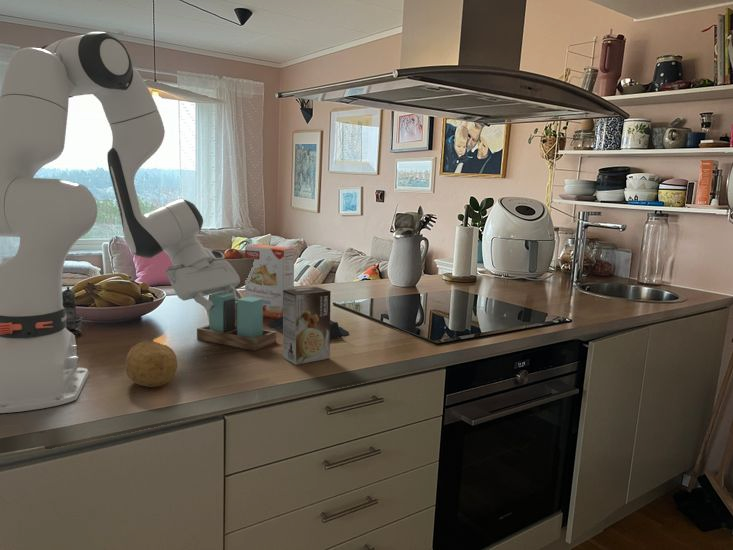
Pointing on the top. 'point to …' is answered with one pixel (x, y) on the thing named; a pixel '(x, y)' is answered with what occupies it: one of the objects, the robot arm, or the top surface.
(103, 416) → the top surface
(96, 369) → the top surface
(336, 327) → the dark slate chunk
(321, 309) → the grey cardboard box
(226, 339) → the wooden compartment tray
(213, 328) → the tall teal pillar
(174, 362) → the potato
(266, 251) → the cracker box
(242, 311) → the turquoise rectangular block
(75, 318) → the figurine
